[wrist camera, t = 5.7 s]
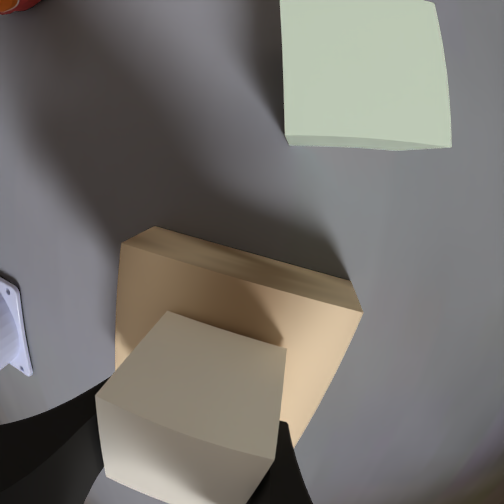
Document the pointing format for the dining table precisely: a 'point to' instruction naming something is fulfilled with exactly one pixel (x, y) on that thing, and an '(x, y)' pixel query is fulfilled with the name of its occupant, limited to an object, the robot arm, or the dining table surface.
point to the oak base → (240, 307)
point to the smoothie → (16, 5)
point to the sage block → (364, 74)
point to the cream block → (192, 413)
